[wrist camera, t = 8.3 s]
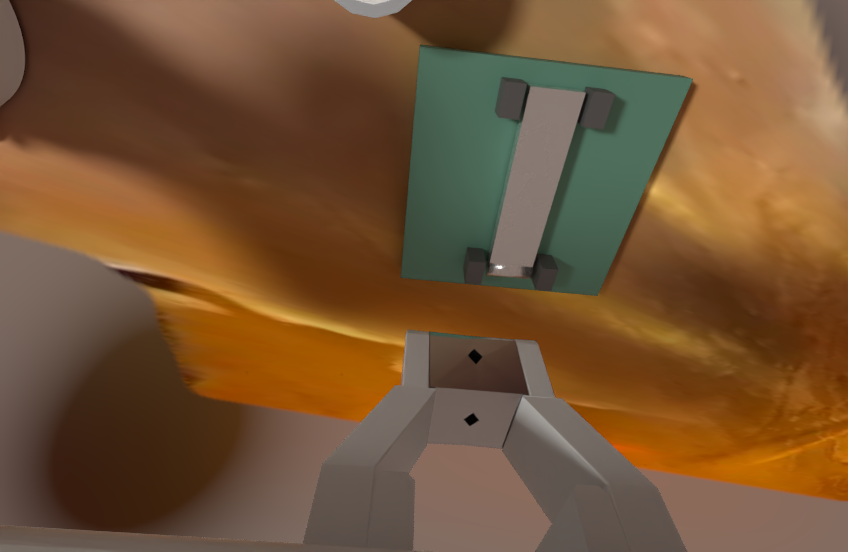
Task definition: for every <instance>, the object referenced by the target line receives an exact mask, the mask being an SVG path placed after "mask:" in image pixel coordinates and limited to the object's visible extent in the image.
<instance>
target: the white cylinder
mask: <svg viewBox="0 0 848 552" xmlns="http://www.w3.org/2000/svg"><path fill="white" fill-rule="evenodd" d="M334 1H336V2H337V3H338V4H340V5H341V6H342V7H344V8H345V9H347V10H348V11H349V12H351V13H354V14H358V15H363V16H367V17H372V18H378V17H382V16H386V15H390V14H394V13H398V12H399V11H400V10H401V9H402V8H404V7H405V6H406V5H407V4H408V3H409V2H411V1H412V0H334Z"/></svg>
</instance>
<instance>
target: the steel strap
mask: <svg viewBox="0 0 848 552" xmlns="http://www.w3.org/2000/svg"><path fill="white" fill-rule="evenodd" d="M585 94H586V93H585V92H584V91H582V90H578V89H570V88H561V87H552V86H544V85H535V84H527V86H526V90H525V95H524V99H523V104H522V108H521V113H520V117H519V121H518V126H517V130H516V135H515V139H514V144H513V148H512V152H511V157H510V161H509V166H508V170H507V175H506V179H505V183H504V188H503V192H502V197H501V201H500V206H499V210H498V214H497V219H496V223H495V228H494V232H493V237H492V241H491V245H490V250H489V254H488V257H487V260H486V266H485V273H486V275H490V276H501V277H512V278H523V279H530V277H531V275H532V269H533V264H534V261H535V258H536V254H537V251H538V248H539V245H540V241H541V238H542V235H543V231H544V228H545V225H546V222H547V218H548V215H549V212H550V209H551V205H552V202H553V199H554V195H555V192H556V189H557V186H558V182H559V179H560V176H561V173H562V169H563V166H564V163H565V159H566V156H567V153H568V150H569V146H570V143H571V140H572V137H573V133H574V130H575V127H576V124H577V120H578V117H579V114H580V110H581V107H582V104H583V101H584V97H585Z"/></svg>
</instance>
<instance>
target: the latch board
mask: <svg viewBox="0 0 848 552" xmlns="http://www.w3.org/2000/svg"><path fill="white" fill-rule="evenodd" d="M692 81H693V79H692V78H688V77H685V76H680V75H671V74H663V73H655V72H646V71H638V70H629V69H621V68H612V67H604V66H596V65H587V64H579V63H570V62H562V61H553V60H545V59H536V58H528V57H520V56H511V55H503V54H494V53H486V52H477V51H469V50H460V49H452V48H444V47H435V46H427V45H420V52H419V64H418V76H417V88H416V100H415V112H414V124H413V136H412V148H411V160H410V172H409V184H408V196H407V208H406V220H405V232H404V244H403V256H402V268H401V278H408V279H419V280H430V281H441V282H452V283H463V284H474V285H485V286H496V287H507V288H518V289H529V290H540V291H551V292H562V293H572V294H583V295H594V296H598V294H599V291H600V289H601V287H602V285H603V282H604V280H605V278H606V276H607V273H608V271H609V269H610V266H611V264H612V262H613V260H614V257H615V255H616V253H617V251H618V248H619V246H620V244H621V242H622V239H623V237H624V235H625V232H626V230H627V228H628V226H629V223H630V221H631V219H632V217H633V214H634V212H635V210H636V208H637V205H638V203H639V201H640V198H641V196H642V194H643V192H644V189H645V187H646V185H647V183H648V180H649V178H650V176H651V174H652V171H653V169H654V167H655V164H656V162H657V160H658V158H659V155H660V153H661V151H662V149H663V146H664V144H665V142H666V140H667V137H668V135H669V133H670V130H671V128H672V126H673V124H674V121H675V119H676V117H677V115H678V112H679V110H680V108H681V106H682V103H683V101H684V99H685V96H686V94H687V92H688V90H689V87H690V85H691V83H692ZM527 84H535V85H544V86H552V87H561V88H570V89H578V90H582V91H584V92H585V93H586V94H585V97H584V101H583V104H582V107H581V110H580V114H579V117H578V120H577V124H576V127H575V130H574V133H573V137H572V140H571V143H570V146H569V150H568V153H567V156H566V159H565V163H564V166H563V169H562V173H561V176H560V179H559V182H558V186H557V189H556V192H555V195H554V199H553V202H552V205H551V209H550V212H549V215H548V218H547V222H546V225H545V228H544V231H543V235H542V238H541V241H540V245H539V248H538V251H537V254H536V258H535V261H534V264H533V269H532V275H531V277H530V279H523V278H512V277H501V276H490V275H486V273H485V266H486V260H487V257H488V254H489V250H490V245H491V241H492V237H493V232H494V228H495V223H496V219H497V214H498V210H499V206H500V201H501V197H502V192H503V188H504V183H505V179H506V175H507V170H508V166H509V161H510V157H511V152H512V148H513V144H514V139H515V135H516V130H517V126H518V121H519V117H520V113H521V108H522V104H523V99H524V95H525V90H526V86H527Z"/></svg>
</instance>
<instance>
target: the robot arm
mask: <svg viewBox="0 0 848 552" xmlns="http://www.w3.org/2000/svg"><path fill="white" fill-rule="evenodd" d="M24 69H25V50H24V43H23V37H22V33H21V30H20V26H19V23H18V20H17V18H16V15H15V12H14V10H13V8H12V6H11V3H10V1H9V0H0V107H1V105H3V104H4V103H5V102H6V101H8V100H9V99H10V98H11V97H12V96H13V95H14V94H15V92H16V91H17V90H18V88H19V86H20V84H21V81H22V79H23V75H24ZM427 443H430V444H452V445H468V446H478V447H489V448H498V449H503V450H502V451H503V453H504V454H505V456H506V457H507V459H508V460H509V462H510V463H511V465H512V466H513V467H514V469H515V470H516V472H517V473H518V475H519V476H520V478H521V479H522V481H523V482H524V484H525V485H526V486H527V488H528V489H529V491H530V492H531V494H532V495H533V497H534V498H535V499H536V501H537V503H538V504H539V505H540V507H541V508H542V510H543V511H544V513H545V514H546V516H547V517H548V519H549V520H550V522H551V523H552V525H551V526H550V528H549V530H548V531H547V533H546V534H545V536H544V538H543V539H542V541H541V543H540V544H539V546H538V548H537V549H536V551H535V552H687V550H686V548H685V546H684V544H683V541H682V539H681V537H680V535H679V533H678V531H677V529H676V526H675V524H674V522H673V520H672V518H671V516H670V513H669V511H668V509H667V507H666V505H665V503H664V501H663V498H662V496H661V494H660V492H659V490H658V488H657V487H656V486H655V485H654V484H653V483H652V482H650V481H649V480H648V479H647V478H646V477H645V476H644V475H643V474H642V473H641V472H640V471H639V470H638V469H637V468H636V467H635V466H633V465H632V464H631V463H630V462H629V461H628V460H627V459H626V458H625V457H624V456H623V455H622V454H621V453H620V452H619V451H617V450H616V449H615V448H614V447H613V446H612V445H611V444H610V443H609V442H608V441H607V440H606V439H605V438H604V437H603V436H602V435H600V434H599V433H598V432H597V431H596V430H595V429H594V428H593V427H592V426H591V425H590V424H589V423H588V422H587V421H586V420H585V419H583V418H582V417H581V416H580V415H579V414H578V413H577V412H576V411H575V410H574V409H573V408H572V407H571V406H570V405H569V404H567V403H566V402H565V401H564V400H563V399H561V398H555V395H554V392H553V388H552V385H551V382H550V379H549V376H548V373H547V370H546V367H545V364H544V361H543V357H542V354H541V351H540V348H539V345H538V343H537V342H536V341H533V340H519V339H513V340H512V339H502V338H489V337H477V336H465V335H456V334H447V333H438V332H429V333H428V332H424V331H415V330H407V332H406V339H405V349H404V358H403V368H402V377H401V386H399V385H395V386H394V387H393V388H392V389H391V391H390V392H389V393H388V394H387V395H386V396H385V397H384V398H383V399H382V400H381V401H380V402H379V403H378V404H377V406H376V407H375V408H374V409H373V410H372V411H371V412H370V413H369V414H368V415H367V416H366V417H365V418H364V419H363V421H362V422H361V423H360V424H359V425H358V426H357V427H356V428H355V429H354V430H353V431H352V432H351V433H350V434H349V436H348V437H347V438H346V439H345V440H344V441H343V442H342V443H341V444H340V445H339V446H338V447H337V448H336V450H335V451H334V452H333V453H332V454H331V455H330V456H329V457H328V458H327V459H326V460H325V461H324V463H322V466H321V471H320V474H319V478H318V483H317V487H316V491H315V495H314V499H313V503H312V508H311V511H310V516H309V520H308V524H307V528H306V532H305V536H304V540H303V544H300V543H284V542H267V541H250V540H234V539H218V538H201V537H184V536H168V535H152V534H151V535H150V534H136V533H134V534H133V533H119V532H103V531H86V530H69V529H52V528H37V527H20V526H3V525H0V552H430V551H416V550H413V539H414V538H413V537H414V498H415V496H414V495H415V480H414V479H413V478H412V477H411V476H410V475H409V472H410V471H411V469H412V468H413V466H414V465H415V463H416V462H417V460H418V458H419V457H420V455H421V454H422V452H423V451H424V449H425V447H426V446H427Z"/></svg>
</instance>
